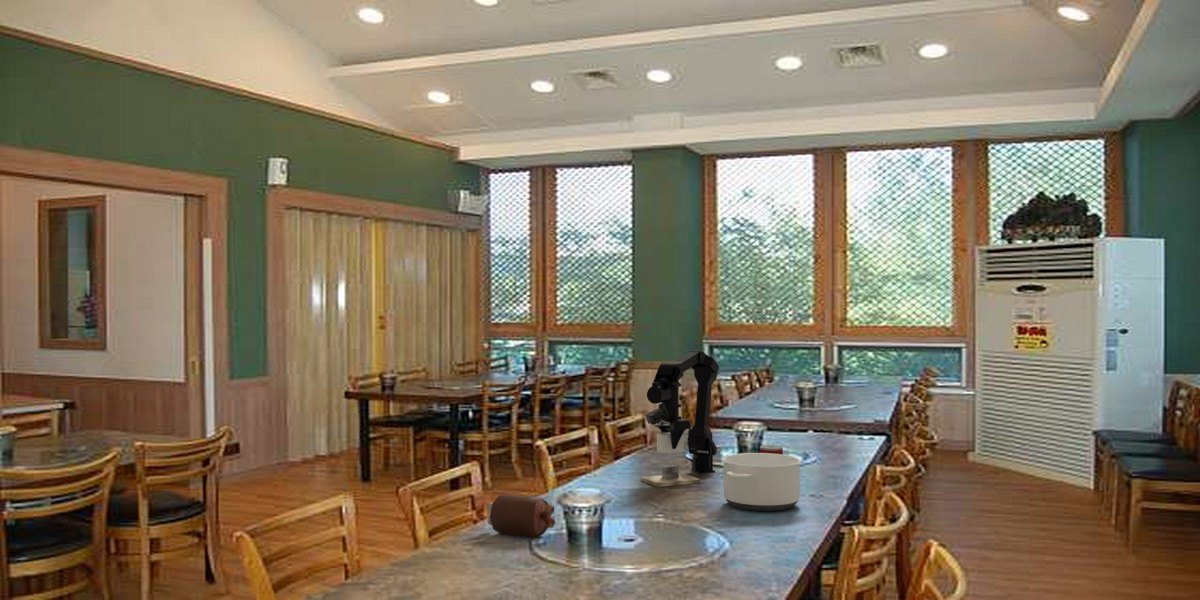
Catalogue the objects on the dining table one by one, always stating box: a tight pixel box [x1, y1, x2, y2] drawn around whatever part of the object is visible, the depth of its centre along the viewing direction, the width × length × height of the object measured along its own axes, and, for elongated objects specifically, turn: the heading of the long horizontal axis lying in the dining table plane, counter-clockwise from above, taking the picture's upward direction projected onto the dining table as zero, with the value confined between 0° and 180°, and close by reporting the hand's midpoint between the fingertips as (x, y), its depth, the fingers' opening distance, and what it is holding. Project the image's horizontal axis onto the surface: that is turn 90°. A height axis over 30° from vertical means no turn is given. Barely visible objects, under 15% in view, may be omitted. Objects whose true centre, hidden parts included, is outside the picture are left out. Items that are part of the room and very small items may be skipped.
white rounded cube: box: [656, 432, 685, 454], centre depth 314 cm, size 8×5×6 cm, turn 113°
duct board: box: [640, 464, 701, 488], centre depth 314 cm, size 16×12×5 cm
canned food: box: [759, 444, 784, 455], centre depth 318 cm, size 8×8×11 cm
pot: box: [721, 452, 802, 512], centre depth 277 cm, size 33×23×14 cm
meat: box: [486, 494, 556, 539], centre depth 243 cm, size 20×12×10 cm, turn 63°
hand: (670, 447), depth 314 cm, fingers closed on white rounded cube, 5 cm apart
